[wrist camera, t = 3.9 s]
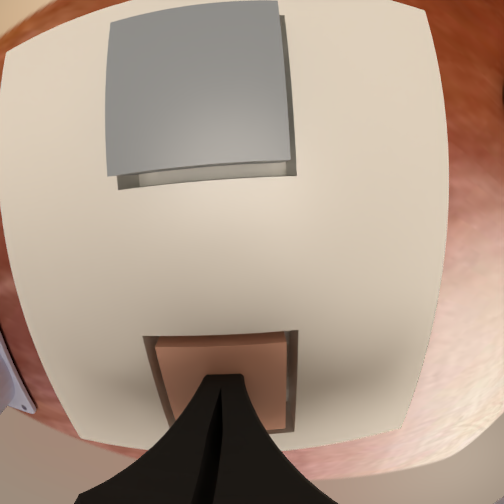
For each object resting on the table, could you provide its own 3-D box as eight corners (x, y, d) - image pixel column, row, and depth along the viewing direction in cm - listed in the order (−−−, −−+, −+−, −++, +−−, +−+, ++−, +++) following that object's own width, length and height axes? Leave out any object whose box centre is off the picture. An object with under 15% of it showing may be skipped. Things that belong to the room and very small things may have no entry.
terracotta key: (185, 400, 12) (179, 430, 10) (167, 320, 11) (155, 347, 9) (280, 397, 12) (285, 428, 11) (279, 315, 11) (286, 342, 9)
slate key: (134, 174, 8) (107, 176, 6) (133, 46, 7) (110, 22, 5) (280, 162, 8) (290, 160, 7) (270, 31, 7) (277, 0, 5)
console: (98, 403, 14) (80, 438, 11) (43, 67, 9) (6, 52, 6) (380, 392, 14) (400, 427, 11) (391, 36, 9) (424, 10, 6)
